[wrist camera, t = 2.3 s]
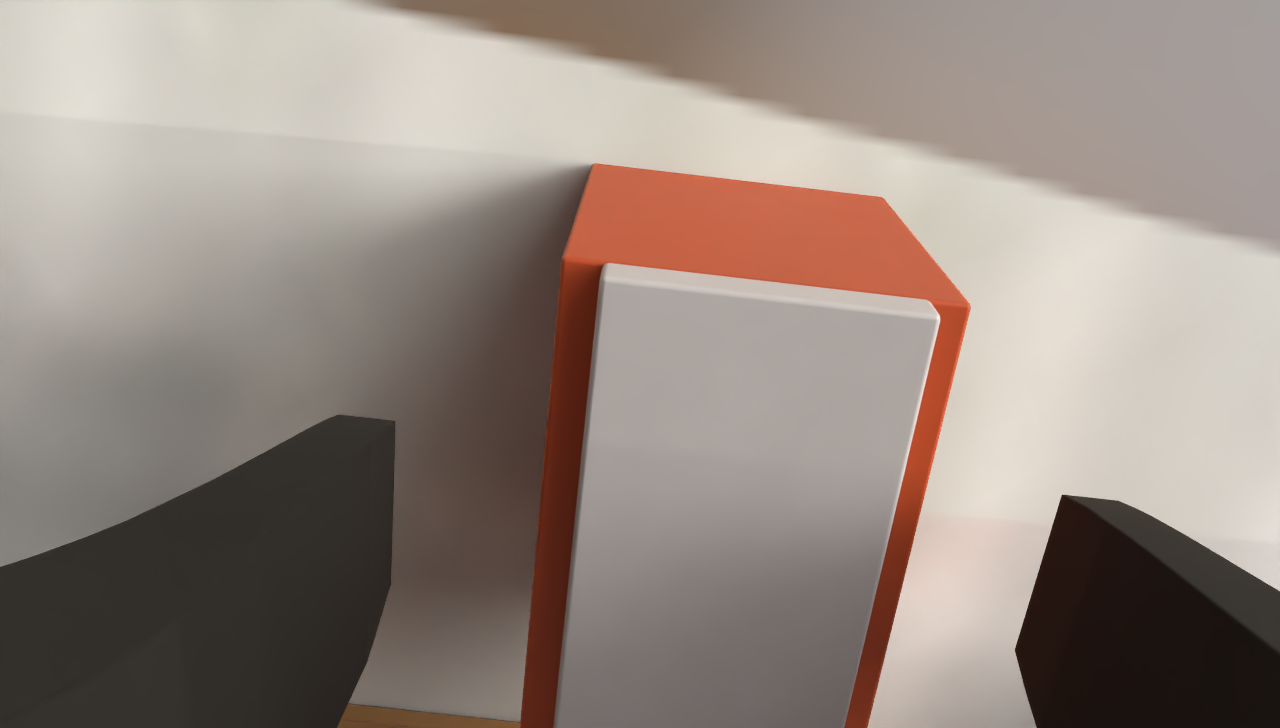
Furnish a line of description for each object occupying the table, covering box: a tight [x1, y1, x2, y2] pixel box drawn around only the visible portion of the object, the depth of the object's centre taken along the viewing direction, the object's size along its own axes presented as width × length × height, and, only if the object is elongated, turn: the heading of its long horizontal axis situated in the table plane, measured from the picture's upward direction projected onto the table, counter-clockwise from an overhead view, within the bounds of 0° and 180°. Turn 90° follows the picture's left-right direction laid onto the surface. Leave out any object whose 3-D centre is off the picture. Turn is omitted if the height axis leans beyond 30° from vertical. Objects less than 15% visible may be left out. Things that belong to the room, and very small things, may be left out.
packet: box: [520, 164, 971, 728], centre depth 13 cm, size 4×6×5 cm, turn 173°
